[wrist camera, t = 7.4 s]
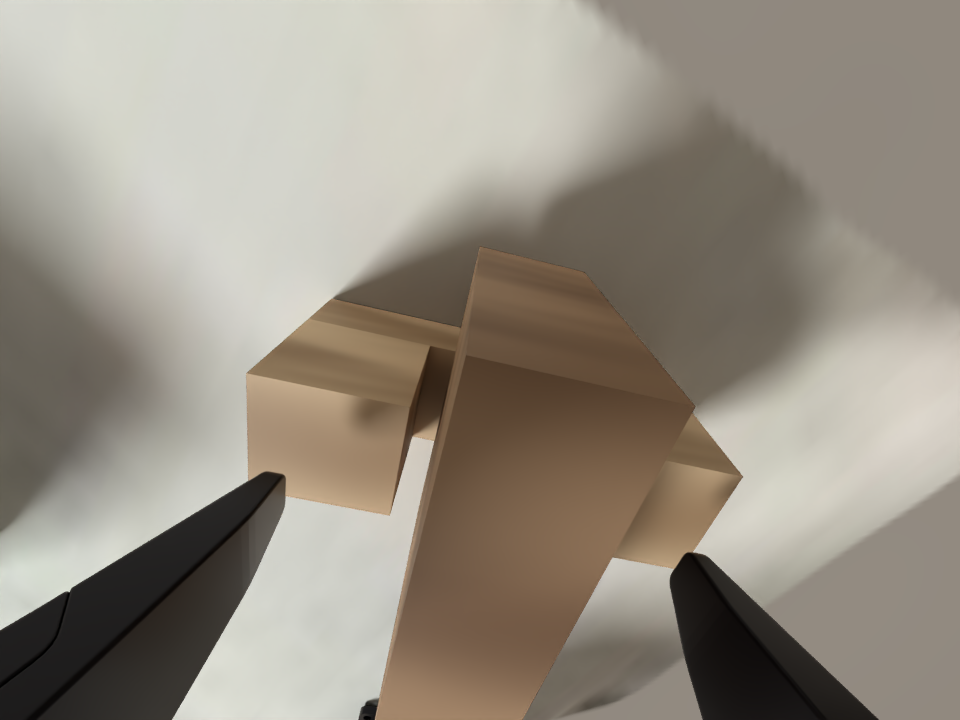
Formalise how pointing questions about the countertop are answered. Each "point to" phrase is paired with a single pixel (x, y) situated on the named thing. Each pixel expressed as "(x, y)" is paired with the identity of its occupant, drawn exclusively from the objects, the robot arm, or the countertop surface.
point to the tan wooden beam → (524, 489)
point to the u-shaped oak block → (424, 425)
